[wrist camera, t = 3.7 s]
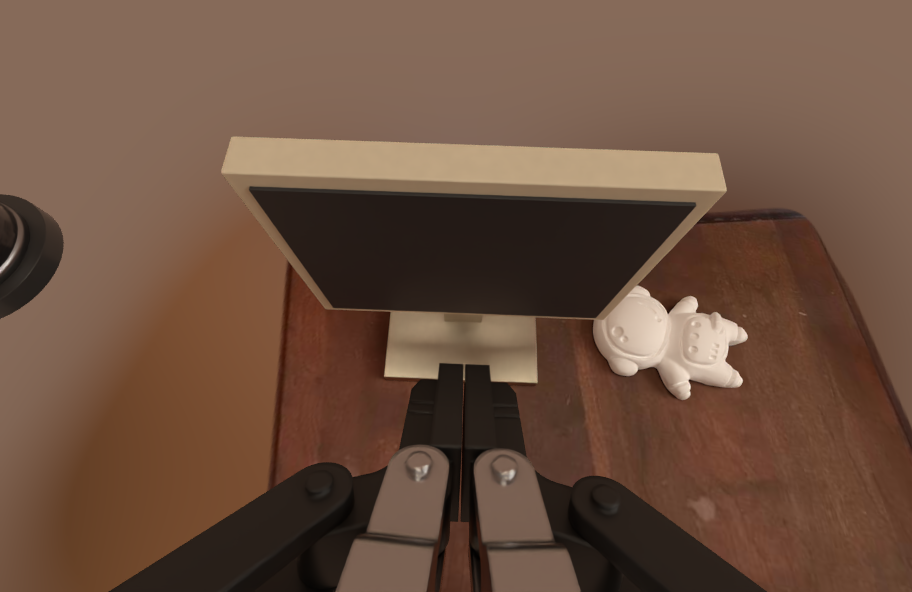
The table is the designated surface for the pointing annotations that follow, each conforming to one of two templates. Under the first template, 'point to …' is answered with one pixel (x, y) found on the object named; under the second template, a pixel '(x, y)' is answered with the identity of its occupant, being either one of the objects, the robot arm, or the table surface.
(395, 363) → the monitor stand
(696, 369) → the astronaut figurine
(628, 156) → the monitor screen
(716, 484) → the table surface
